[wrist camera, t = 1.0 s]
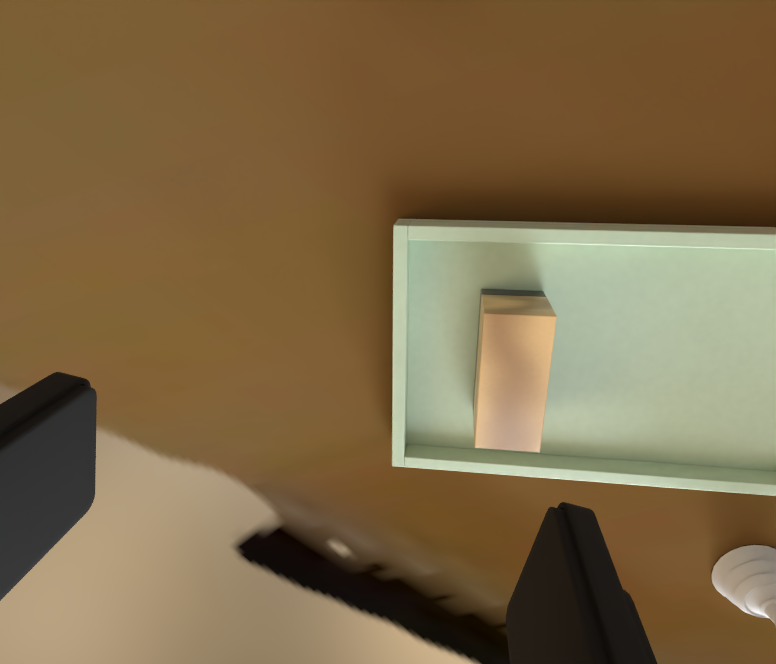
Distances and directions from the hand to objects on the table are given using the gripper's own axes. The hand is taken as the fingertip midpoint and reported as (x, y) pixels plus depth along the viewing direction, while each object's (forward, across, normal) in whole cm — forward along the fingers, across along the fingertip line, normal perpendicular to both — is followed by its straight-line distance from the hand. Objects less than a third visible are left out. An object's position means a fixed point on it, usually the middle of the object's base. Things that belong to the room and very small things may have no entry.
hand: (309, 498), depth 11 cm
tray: (+22, -13, +3) cm, 26 cm away
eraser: (+22, -7, +4) cm, 23 cm away
